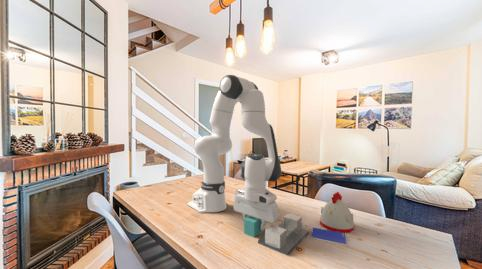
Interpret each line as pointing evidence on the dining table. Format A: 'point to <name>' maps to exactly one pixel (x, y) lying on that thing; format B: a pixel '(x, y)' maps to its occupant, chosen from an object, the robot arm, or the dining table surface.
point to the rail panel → (289, 241)
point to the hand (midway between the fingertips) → (254, 226)
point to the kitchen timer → (337, 216)
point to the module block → (252, 226)
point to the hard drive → (329, 236)
